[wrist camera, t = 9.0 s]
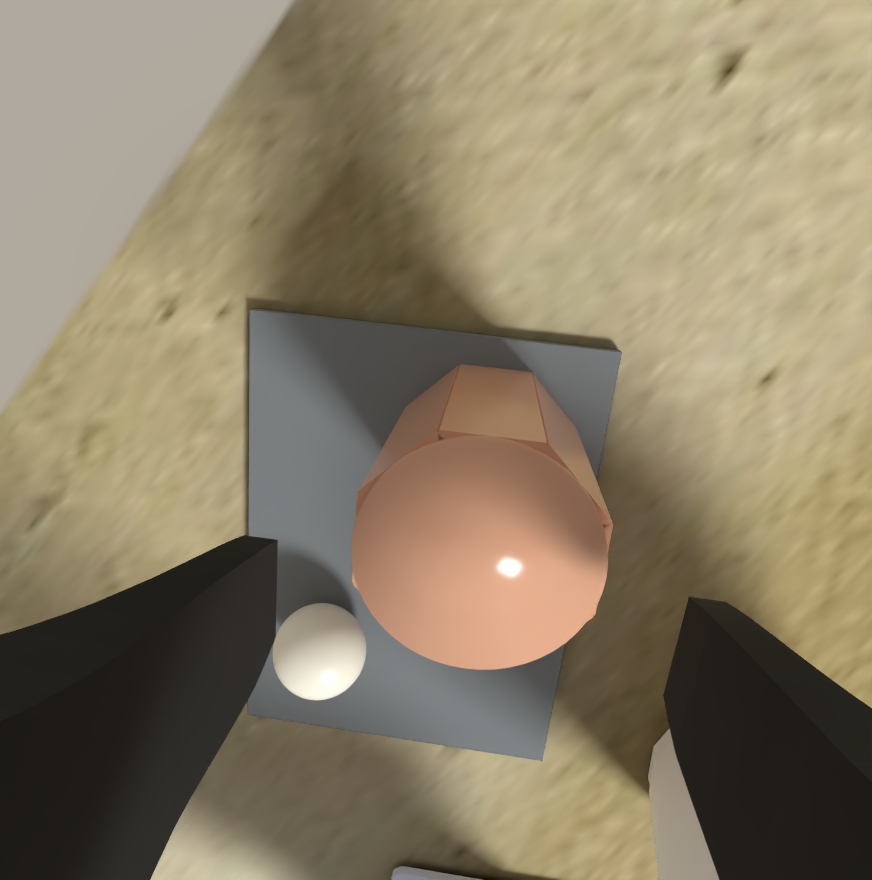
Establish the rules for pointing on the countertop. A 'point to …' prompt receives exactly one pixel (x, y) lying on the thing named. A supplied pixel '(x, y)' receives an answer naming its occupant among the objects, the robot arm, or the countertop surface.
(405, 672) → the mat
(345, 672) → the marble
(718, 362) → the countertop surface
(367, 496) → the salmon pink faceted cylinder
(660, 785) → the foam cup
